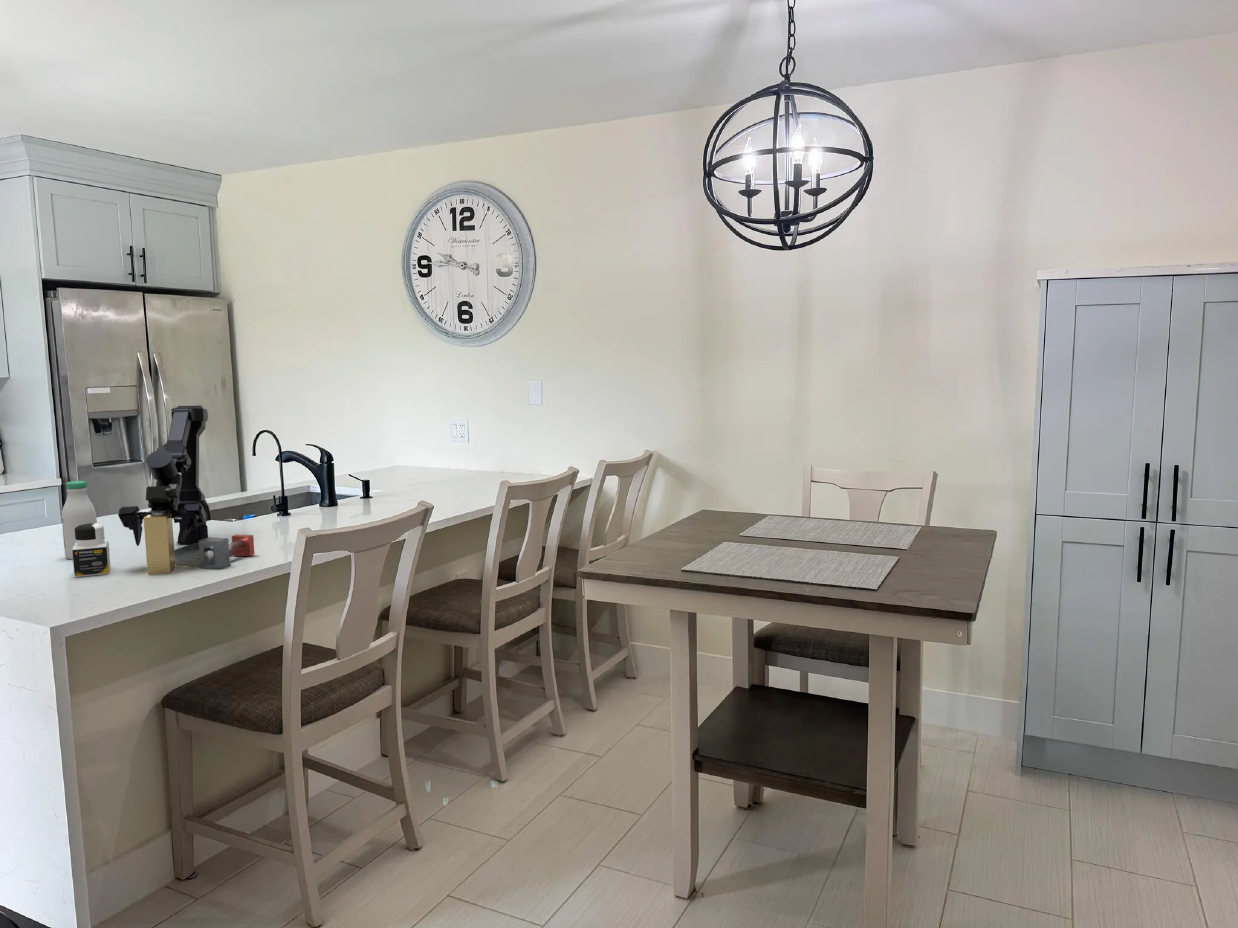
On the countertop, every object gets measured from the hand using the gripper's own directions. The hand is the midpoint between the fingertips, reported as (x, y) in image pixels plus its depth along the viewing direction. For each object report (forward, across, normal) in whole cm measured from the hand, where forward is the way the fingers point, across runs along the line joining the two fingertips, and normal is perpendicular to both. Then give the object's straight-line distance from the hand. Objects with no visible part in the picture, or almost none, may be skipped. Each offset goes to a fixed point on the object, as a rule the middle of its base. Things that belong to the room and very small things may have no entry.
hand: (158, 543), depth 207 cm
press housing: (+3, +12, +7) cm, 14 cm away
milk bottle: (-12, -25, +22) cm, 35 cm away
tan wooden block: (+4, 0, +6) cm, 7 cm away
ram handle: (0, +14, +10) cm, 17 cm away
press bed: (-4, +6, +14) cm, 16 cm away
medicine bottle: (+2, -16, +8) cm, 18 cm away
